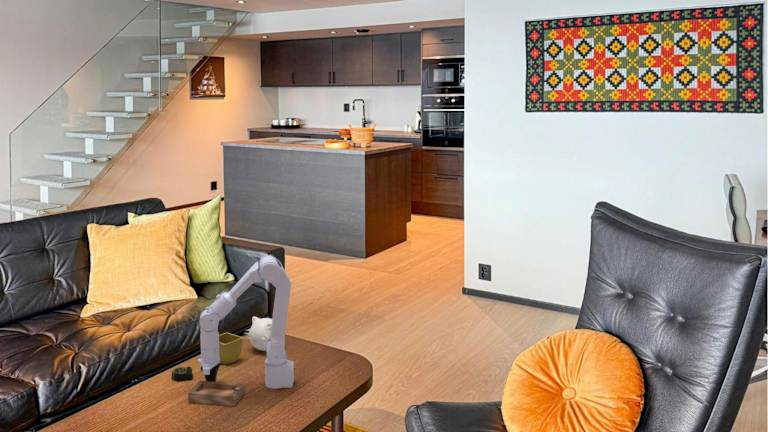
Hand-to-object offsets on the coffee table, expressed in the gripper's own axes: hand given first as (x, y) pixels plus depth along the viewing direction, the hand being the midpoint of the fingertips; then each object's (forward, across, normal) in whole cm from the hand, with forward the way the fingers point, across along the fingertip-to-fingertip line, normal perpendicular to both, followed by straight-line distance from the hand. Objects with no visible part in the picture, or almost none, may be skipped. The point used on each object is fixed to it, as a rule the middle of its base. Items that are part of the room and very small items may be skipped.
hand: (211, 386), depth 219 cm
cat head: (+2, -35, +14) cm, 38 cm away
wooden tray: (+1, +6, +3) cm, 7 cm away
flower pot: (+2, -24, +1) cm, 25 cm away
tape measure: (+2, -10, -11) cm, 15 cm away
